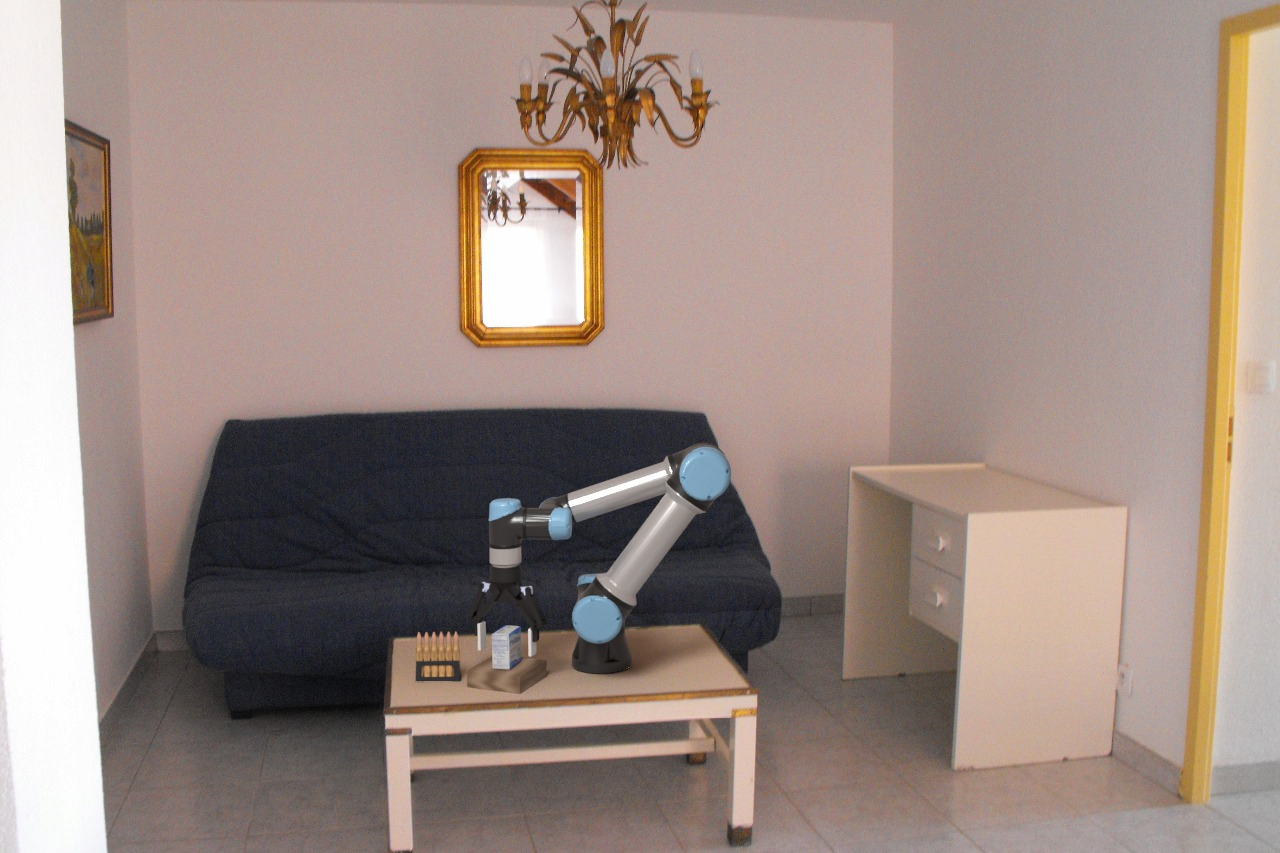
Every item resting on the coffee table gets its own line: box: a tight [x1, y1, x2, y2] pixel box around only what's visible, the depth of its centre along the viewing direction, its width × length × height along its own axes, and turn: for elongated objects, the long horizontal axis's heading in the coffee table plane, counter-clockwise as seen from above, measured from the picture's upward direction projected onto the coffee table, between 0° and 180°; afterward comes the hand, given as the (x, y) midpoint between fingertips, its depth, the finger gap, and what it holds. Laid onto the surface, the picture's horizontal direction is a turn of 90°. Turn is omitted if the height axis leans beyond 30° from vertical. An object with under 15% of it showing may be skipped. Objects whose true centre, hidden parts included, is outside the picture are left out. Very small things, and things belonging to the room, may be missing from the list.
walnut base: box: [466, 655, 548, 695], centre depth 268 cm, size 14×14×4 cm
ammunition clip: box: [415, 631, 462, 683], centre depth 269 cm, size 11×2×12 cm, turn 92°
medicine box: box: [491, 625, 522, 670], centre depth 268 cm, size 8×4×9 cm, turn 165°
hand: (507, 652), depth 268 cm, fingers open, 13 cm apart
